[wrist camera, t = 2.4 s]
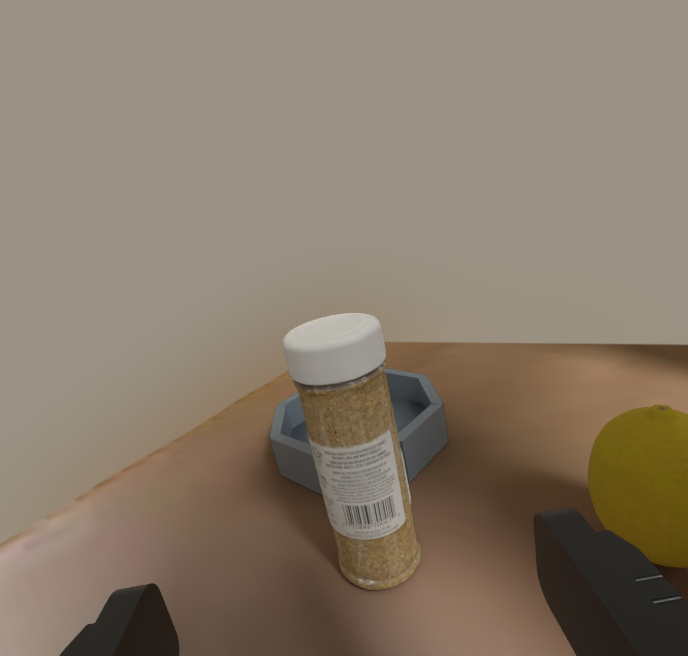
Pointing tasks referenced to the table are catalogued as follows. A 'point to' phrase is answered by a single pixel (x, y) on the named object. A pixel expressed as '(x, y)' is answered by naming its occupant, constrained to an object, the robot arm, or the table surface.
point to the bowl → (410, 416)
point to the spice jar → (355, 446)
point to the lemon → (644, 481)
